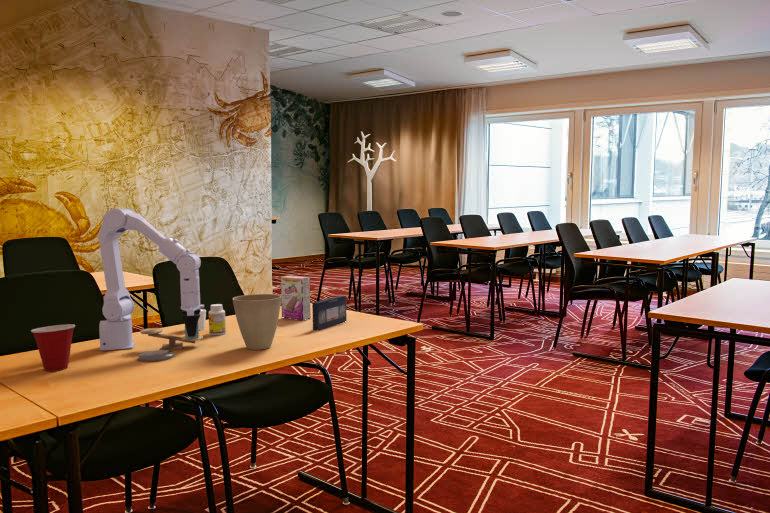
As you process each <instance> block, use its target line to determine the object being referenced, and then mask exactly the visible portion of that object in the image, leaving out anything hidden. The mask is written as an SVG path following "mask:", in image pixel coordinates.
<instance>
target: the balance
mask: <svg viewBox="0 0 770 513" xmlns="http://www.w3.org/2000/svg"><path fill="white" fill-rule="evenodd" d="M162 332H163V328H161V327H152V328H150V327H149V328H144V329H141V330H140V332H139V333H140V334H141V335H147V336H148V337H153V338H160V339H166V340H168V343H163V344H162V346H161V350H170V351H173V350H182V349H183V346H184V344H183V342H184V343H190V344H196V341H200V340H201V341H202V340H203V339H204V335H202V334H199V338H191V339H185V335H184V336H175V335H171V334H165V333H162ZM176 341H178V342H176Z"/></svg>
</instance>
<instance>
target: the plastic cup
mask: <svg viewBox="0 0 770 513" xmlns="http://www.w3.org/2000/svg"><path fill="white" fill-rule="evenodd" d="M75 327H76V325H75V324H69V323H68V324H56V325H48V326H42V327H37V328H34V329H33V328H32V329H31V330H30V332H31V333H32V334H33V337H34V338H35V341H36V345H37V349H38V352H39V356H40V359H41V364H42V367H43V369H44V370H43V371H45V372H58V371H65V369H68V367H69V363H70V361H69V360H70V356H71V351H72V350H71V348H72V339H73V335H74V334H73V333H74V329H75Z"/></svg>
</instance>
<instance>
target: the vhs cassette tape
mask: <svg viewBox="0 0 770 513" xmlns="http://www.w3.org/2000/svg"><path fill="white" fill-rule="evenodd" d="M311 307H312V308H311V310H312V330H313V331H321V330H325V329H328V328H330V327H334V326H337V324H338V325H340V323H341V324H344V323H346V322H347V318H348V317H347V295H339V296H335V297H334V296H333V297H330V298H326V299H321V300H319V301H315V302H312V306H311ZM345 321H346V322H345ZM343 322H344V323H343Z"/></svg>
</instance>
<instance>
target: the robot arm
mask: <svg viewBox="0 0 770 513" xmlns="http://www.w3.org/2000/svg"><path fill="white" fill-rule="evenodd" d="M101 219H102V223H101V226H100V228H99V231H98V233H97V237H98V242H99V250H100V256H101V261H102V268H103V274H104V279H105V280H104V281H105V287H106V291H105V294H104V296H103V304H102V305H103V306H102V308H101V309H102V315H103V316H104V318H105V320H100V321H99V327H98V328H99V329H98V330H99V333H98V334H99V348H100V349H99V351H113V350H114V351H115V350H125V349H134V346H135V345H136V341H133V324H132V323H133V321H132V313H133V312H134V310H135V303H134V300H133V299H132V298H131V295H130V291H128V289H127V288H126V284H125V279H124V278H125V277H124V271H123V265H122V258H121V253H120V246H119V240H118V239H120V237H121V236H122V235H123V233H125V232H127V231H129V230H130V231H137V232H139V233H140V234H141V235H143V236H144V237H146V238H147V239H148V240H150V241H151V242H152V243H153V244H155V245H156V246H158V251H159V253H160V254H162V255H163V256H164V257H166V258H167V259H168V260H170V261H171V262H172V263H173V264H174V265H176V268H177V270H178V271H179V276H180V278H179V283H180V284H179V285H180V304H181V306H180V309H181V310H182V314H181V316H180V318H181V319H182V320H183V323H184V327H185V326H186V330H187V334H188V337H194V336H195V335H196V329H197V323H198V320H199V317H200V314H199V313H200V311H201V310H200V309H205V304H201V292H200V271H199V269H200V267H201V266H202V264H201V263H202V261H201V257H200V256H199V255H198V253H195V252H191V250H190V249H189V248H186V247H184V246H183V245H182V244H181V243H179V239H177V238H173V237H165V235H163V234H162V233H161V232H160V231H159V230H158V229H156V227H154V226H153V225H152V224H150V223H149V222H148V221H147V220H146V219H145V218H144V217H143V216H142V215H141V214H139V213H138V212H136V211H134V210H133V209H132V208H128V207H127V208H126V207H125V208H111V209H109V210H108V211H107V212H106V213H105V214H104V215H103V216H102V218H101Z"/></svg>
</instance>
